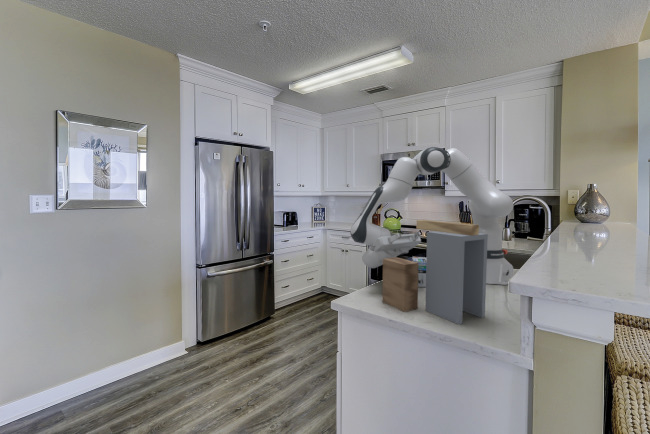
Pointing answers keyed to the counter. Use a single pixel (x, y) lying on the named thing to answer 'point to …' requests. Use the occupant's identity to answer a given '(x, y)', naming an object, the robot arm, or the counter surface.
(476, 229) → the oak slat
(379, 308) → the counter surface
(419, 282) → the light bulb box
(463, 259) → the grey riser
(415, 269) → the walnut block
